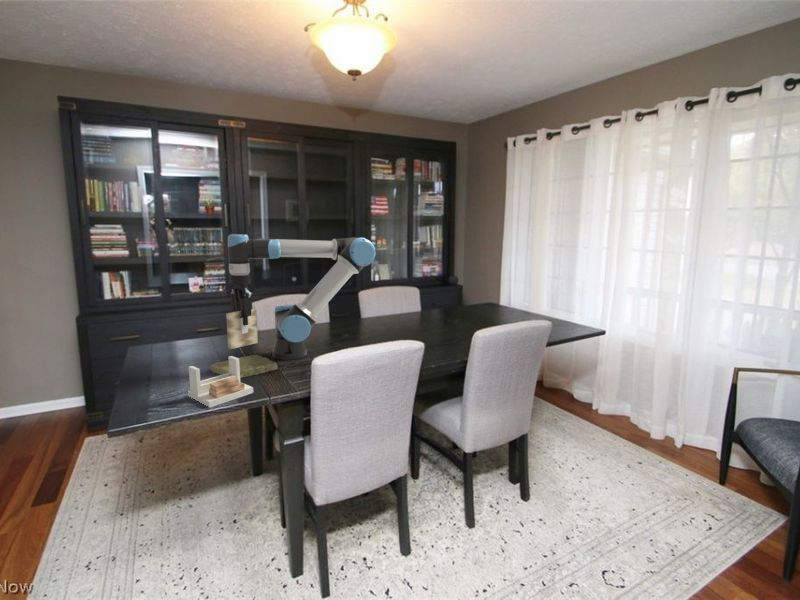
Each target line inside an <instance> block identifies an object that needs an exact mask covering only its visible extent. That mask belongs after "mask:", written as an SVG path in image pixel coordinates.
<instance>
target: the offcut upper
mask: <svg viewBox="0 0 800 600" xmlns="http://www.w3.org/2000/svg"><path fill="white" fill-rule="evenodd" d="M238 385H239V381H238V379H236V378H233V377H230V378H227V379H223V380H220V381H217V382H213V383H210V389H211V390H213V391H215V392H219V391H222V390H225V389H228V388H231V387H234V386H238Z"/></svg>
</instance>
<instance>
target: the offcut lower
mask: <svg viewBox="0 0 800 600" xmlns="http://www.w3.org/2000/svg"><path fill="white" fill-rule="evenodd" d="M244 384H245V383H244ZM244 384H243V382H241V381H240V382H239V385H238V386H234V387H231V388H228V389H225V390H222V391H219V392H215V391H213V390H211V389H209V395H211V396H213V397H215V398H220V397H223V396H226V395H229V394H232V393H235V392H239V391H242V390H245V387H244Z"/></svg>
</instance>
